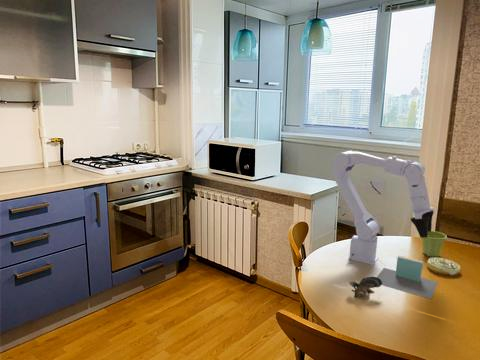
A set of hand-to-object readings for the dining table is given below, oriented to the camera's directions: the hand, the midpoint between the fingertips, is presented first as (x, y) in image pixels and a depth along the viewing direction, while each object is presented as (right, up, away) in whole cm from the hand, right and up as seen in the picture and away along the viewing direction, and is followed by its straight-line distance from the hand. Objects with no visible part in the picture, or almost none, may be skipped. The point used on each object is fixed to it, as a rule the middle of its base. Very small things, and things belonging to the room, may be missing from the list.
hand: (426, 234), depth 127 cm
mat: (-9, -16, -3) cm, 19 cm away
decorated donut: (+10, -15, +7) cm, 19 cm away
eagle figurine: (-25, -18, -11) cm, 33 cm away
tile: (-6, -15, 0) cm, 17 cm away
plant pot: (+13, -12, +22) cm, 28 cm away
